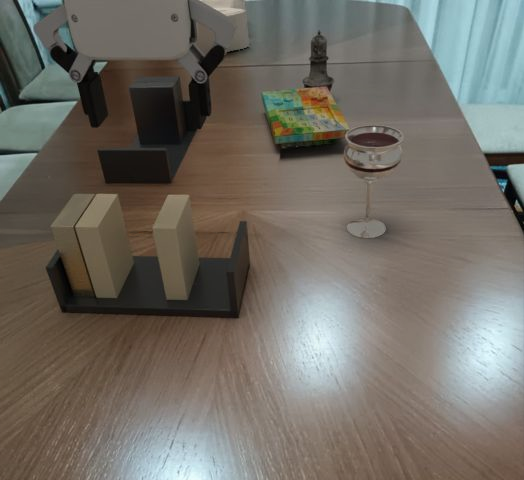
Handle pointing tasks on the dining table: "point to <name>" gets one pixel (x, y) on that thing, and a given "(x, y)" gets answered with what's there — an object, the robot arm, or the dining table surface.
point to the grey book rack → (152, 134)
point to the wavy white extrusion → (232, 6)
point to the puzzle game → (304, 117)
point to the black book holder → (133, 268)
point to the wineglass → (371, 167)
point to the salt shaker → (318, 64)
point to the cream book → (176, 246)
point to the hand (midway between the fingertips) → (149, 122)
